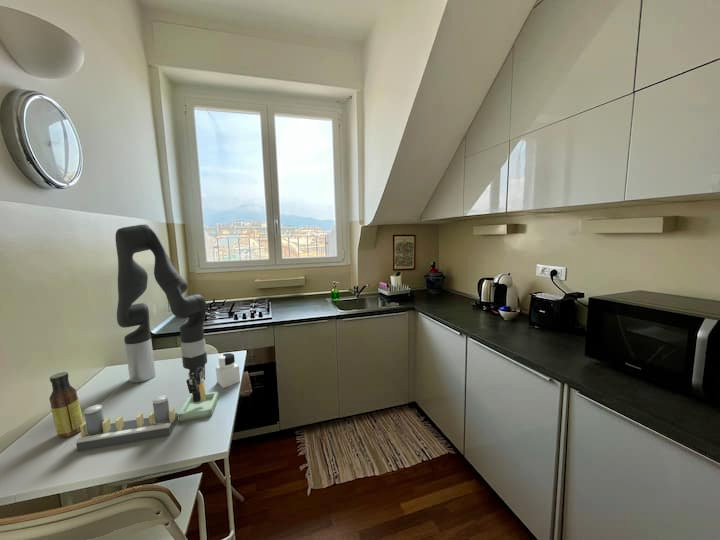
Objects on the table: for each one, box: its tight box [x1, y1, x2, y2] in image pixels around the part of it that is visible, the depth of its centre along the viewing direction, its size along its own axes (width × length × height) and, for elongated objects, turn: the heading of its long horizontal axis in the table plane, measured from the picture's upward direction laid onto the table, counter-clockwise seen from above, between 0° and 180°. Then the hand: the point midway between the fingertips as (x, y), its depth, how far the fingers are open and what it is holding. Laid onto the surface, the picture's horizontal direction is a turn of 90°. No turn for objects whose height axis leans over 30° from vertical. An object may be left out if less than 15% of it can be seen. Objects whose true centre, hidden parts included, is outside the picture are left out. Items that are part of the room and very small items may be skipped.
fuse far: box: [152, 394, 170, 425], centre depth 95 cm, size 4×4×8 cm
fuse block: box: [75, 407, 179, 452], centre depth 93 cm, size 8×24×6 cm, turn 104°
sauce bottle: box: [49, 371, 84, 438], centre depth 94 cm, size 7×6×20 cm
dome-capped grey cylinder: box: [83, 404, 105, 436], centre depth 90 cm, size 4×4×8 cm
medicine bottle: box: [215, 352, 241, 389], centre depth 124 cm, size 7×7×12 cm
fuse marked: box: [191, 377, 206, 404], centre depth 105 cm, size 4×4×8 cm
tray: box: [178, 391, 220, 422], centre depth 106 cm, size 12×10×2 cm
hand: (198, 397), depth 106 cm, fingers closed on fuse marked, 4 cm apart
